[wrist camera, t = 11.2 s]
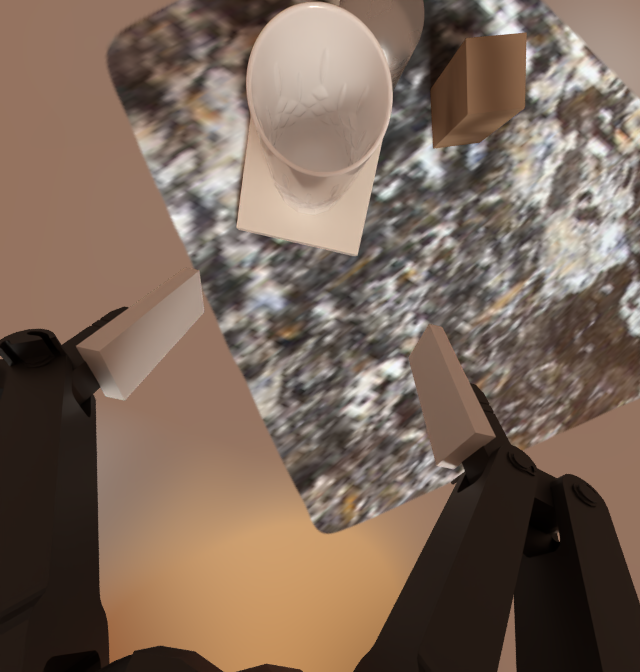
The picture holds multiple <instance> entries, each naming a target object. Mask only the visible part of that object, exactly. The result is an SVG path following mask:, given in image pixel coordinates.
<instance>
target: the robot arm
mask: <svg viewBox="0 0 640 672" xmlns="http://www.w3.org/2000/svg"><path fill="white" fill-rule="evenodd" d="M203 313H204V305H203V296H202V288H201V280H200V273H199V270H195V269H190V268H184V269H182V270H181V271H179V272H178V273H177V274H175V275H174V276H173V277H171V278H170V279H168V280H167V281H166V282H164V283H163V284H162V285H160V286H159V287H157V288H156V289H155V290H153V291H152V292H150V293H149V294H148V295H146V296H145V297H143V298H142V299H141V300H139V301H138V302H136V303H135V304H134V305H132V306H131V307H129V308H128V307H122V308H119V309H116V310H114V311H111V312H109V313H108V314H107V315H105V316H104V317H102V318H101V319H100V320H98V321H97V322H95V323H93V324H92V326H89V327H87V328H86V329H84V330H83V331H82V332H80V333H79V334H77V335H76V336H74V337H73V338H71V339H70V340H68V341H67V342H65V343H64V344H63V345H61V344H60V342H59V341H58V339H57V337H56V336H55V334H54V333H53V332H51V331H49V330H45V329H28V330H24V331H20V332H16V333H13V334H11V335H8V336H6V337H4V338H3V339H1V340H0V356H1V357H2V358H3V359H0V672H223V671H222V670H220V669H219V668H218V667H216V666H215V665H213V664H212V663H210V662H209V661H208V660H206V659H205V658H203V657H202V656H201V655H199V654H198V653H196V652H194V651H189V650H183V649H177V648H171V647H165V646H156V647H151V648H147V649H141V650H137V651H134V652H133V654H132V655H128V656H126V657H124V658H121V659H118V660H116V661H114V662H112V663H110V664H109V637H108V623H107V618H106V614H105V611H104V609H103V606H102V604H101V600H100V589H99V541H98V492H97V447H96V446H97V444H96V400H95V397H94V395H93V393H95V392H96V391H97V390H98V389H99V388H101V389H102V391H103V392H104V395H105V396H106V397H111V398H116V399H121V400H126V399H127V397H128V396H129V395H130V394H131V393H132V392H133V391H134V390H135V389H136V387H137V386H138V385H139V384H140V383H141V382H142V381H143V380H144V378H145V377H146V376H147V375H148V374H149V373H150V372H151V371H152V370H153V369H154V367H155V366H156V365H157V364H158V363H159V362H160V361H161V360H162V359H163V357H164V356H165V355H166V354H167V353H168V352H169V351H170V350H171V348H172V347H173V346H174V345H175V344H176V343H177V342H178V341H179V340H180V339H181V337H182V336H183V335H184V334H185V333H186V332H187V331H188V330H189V329H190V327H191V326H192V325H193V324H194V323H195V322H196V321H197V320H198V318H199V317H200V316H201V315H202V314H203ZM409 362H410V366H411V370H412V373H413V377H414V381H415V385H416V389H417V393H418V396H419V400H420V404H421V408H422V412H423V416H424V419H425V423H426V427H427V431H428V435H429V439H430V442H431V446H432V450H433V454H434V458H435V462H436V465H437V466H441V467H446V468H451V469H455V468H456V467H457V466H459V465H460V464H461V463H462V464H463V467H464V470H465V472H464V473H462V474H461V475H459V476H458V477H457V478H455V479H454V480H453V481H452V482H451V483H452V484H455V483H456V482H457V483H456V485H455V487H454V489H453V491H452V493H451V495H450V497H449V499H448V501H447V503H446V505H445V507H444V509H443V511H442V513H441V515H440V517H439V519H438V521H437V523H436V524H435V526H434V528H433V530H432V532H431V534H430V536H429V538H428V540H427V542H426V544H425V546H424V548H423V550H422V552H421V554H420V556H419V558H418V560H417V562H416V564H415V566H414V568H413V570H412V572H411V573H410V576H409V577H408V579H407V581H406V583H405V585H404V587H403V589H402V591H401V593H400V595H399V597H398V599H397V601H396V603H395V605H394V607H393V609H392V611H391V613H390V615H389V617H388V619H387V621H386V622H385V624H384V626H383V628H382V630H381V632H380V634H379V636H378V639H377V640H376V642H375V644H374V646H373V647H372V648H371V650H370V651H369V652H368V653H367V654H366V655H365V656H364V657H363V658H362V659H361V660H360V662H359V664H358V665H357V666H356V668H355V670H354V671H353V672H497V670H498V665H499V660H500V656H501V651H502V646H503V642H504V637H505V632H506V627H507V623H508V618H509V614H510V609H511V604H512V600H513V595H514V613H515V638H516V639H515V641H516V668H517V672H640V603H639V600H638V597H637V594H636V591H635V588H634V585H633V582H632V579H631V576H630V573H629V570H628V567H627V564H626V562H625V558H624V555H623V552H622V549H621V547H620V543H619V540H618V537H617V534H616V532H615V528H614V525H613V522H612V520H611V516H610V513H609V510H608V508H607V506H606V504H605V502H604V500H603V499H602V497H601V496H600V495H599V494H598V492H597V491H596V490H595V489H594V488H593V487H592V486H590V485H589V484H588V483H586V482H585V481H584V480H582V479H581V478H579V477H577V476H574V475H571V474H565V475H563V476H561V477H559V478H555V477H553V476H551V475H549V474H547V473H545V472H543V471H541V470H539V469H537V467H536V465H535V464H534V462H533V461H532V460H531V459H530V457H529V456H528V455H526V454H525V453H524V452H523V451H522V450H520V449H519V448H517V447H515V446H513V445H511V444H510V442H509V440H508V438H507V436H506V434H505V433H504V431H503V429H502V427H501V425H500V423H499V421H498V419H497V417H496V416H495V414H493V410H492V408H491V406H489V402H488V400H487V398H486V397H485V395H484V393H483V392H482V391H481V390H480V389H479V388H478V387H477V386H476V385H475V384H471V383H469V381H468V379H467V377H466V375H465V373H464V371H463V369H462V367H461V365H460V363H459V361H458V359H457V356H456V354H455V352H454V350H453V348H452V346H451V344H450V342H449V340H448V338H447V336H446V334H445V332H444V330H443V328H442V327H440V326H436V325H431V324H429V325H428V327H427V328H426V330H425V332H424V333H423V335H422V337H421V338H420V340H419V342H418V343H417V345H416V346H415V348H414V350H413V351H412V353H411V355H410V356H409ZM557 532H559V534H560V542H559V540H558V536H557ZM238 672H303V671H301V670H300V669H294V668H288V667H283V666H277V665H270V664H264V665H260V666H256V667H253V668H249V669H245V670H242V671H238Z"/></svg>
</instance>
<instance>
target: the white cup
mask: <svg viewBox="0 0 640 672" xmlns="http://www.w3.org/2000/svg"><path fill="white" fill-rule="evenodd" d="M246 91H247V100H248V105H249V110H250V113H251V117H252V120H253V123H254V126H255V129H256V132H257V135H258V138H259V141H260V145H261V148H262V151H263V154H264V157H265V160H266V163H267V166H268V168H269V172H270V174H271V177H272V179H273V181H274V184H275V187H276V189H277V190H278V192H279V194H280V196H281V197H282V199H283V201H284V203H286V204H287V205H289V206H290V207H291V208H293V209H294V210H295V211H297V212H298V213H304V214H310V215H316V214H319V213H322V212H325V211H328V210H329V209H330V208H331V207H332V206H333V205H334V204H335V203H336V202H337V201H338V200H339V199H340V198H341V197H342V196H343V195H344V193H345V192H346V191H347V190H348V188H349V187H350V186H351V184H352V183H353V182H354V180H355V179H356V177H357V176H358V174H359V173H360V172H361V170H362V169H363V167H364V166H365V164H366V163H367V161H368V160H369V158H370V157H371V156H372V154H373V153H374V151H375V150H376V149H377V147H378V146H379V144H380V142H381V141H382V139H383V137H384V134H385V132H386V130H387V127H388V124H389V120H390V116H391V110H392V100H393V90H392V80H391V74H390V70H389V66H388V63H387V60H386V57H385V54H384V52H383V50H382V48H381V46H380V44H379V42H378V41H377V39H376V38H375V36H374V35H373V33H372V32H371V31H370V29H369V28H368V27H367V26H366V25H365V24H364V23H363V22H362V21H361V20H360V19H359V18H357V17H356V16H355V15H353V14H352V13H350V12H349V11H347V10H345V9H343V8H341V7H339V6H336V5H333V4H330V3H325V2H304V3H300V4H296V5H293V6H291V7H289V8H287V9H285V10H283V11H281V12H280V13H278V14H277V15H276V16H275V17H273V18H272V19H271V20H270V21H269V22H268V23H267V25H266V26H265V27H264V28H263V30H262V31H261V33H260V34H259V36H258V38H257V39H256V41H255V44H254V46H253V48H252V51H251V54H250V58H249V62H248V67H247V76H246Z"/></svg>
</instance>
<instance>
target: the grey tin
mask: <svg viewBox="0 0 640 672" xmlns="http://www.w3.org/2000/svg"><path fill="white" fill-rule="evenodd" d="M339 7H341V8H343V9H345V10H347V11H349V12H350V13H352V14H353V15H355V16H356V17H357V18H359V19H360V20H361V21H362V22H363V23H364V24H365V25H366V26H367V27H368V28H369V29H370V31H371V32H372V33H373V35H374V36H375V38H376V39H377V41H378V42H379V44H380V46H381V48H382V50H383V52H384V54H385V57H386V60H387V63H388V66H389V70H390V74H391V80H392V90H393V91H394V89H395V87H396V85H397V83H398V81H399V79H400V77H401V75H402V73H403V71H404V69H405V67H406V65H407V63H408V61H409V59H410V57H411V55H412V53H413V51H414V49H415V47H416V45H417V43H418V41H419V39H420V36H421V33H422V29H423V24H424V3H423V0H340V6H339Z"/></svg>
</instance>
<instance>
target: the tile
mask: <svg viewBox="0 0 640 672" xmlns="http://www.w3.org/2000/svg"><path fill="white" fill-rule="evenodd" d="M382 140H383V139H382ZM381 144H382V141H381V142H380V144H379V146H378V147H377V149H376V150H375V151H374V153H373V154H372V156H371V157H370V158H369V160H368V161H367V163H366V164H365V166H364V167H363V169H362V170H361V172H360V173H359V174H358V176H357V177H356V179H355V180H354V182H353V183H352V184H351V186H350V187H349V188H348V190H347V191H346V192H345V193H344V195H343V196H342V197H341V198H340V199H339V200H338V201H337V202H336V203H335V204H334V205H333V206H332V207H331V208H330V209H329V210H328V211H325V212H322V213H319V214H316V215H310V214H304V213H298V212H297V211H295V210H294V209H293V208H291V207H290V206H289V205H287V204H286V203H284V201H283V199H282V197H281V196H280V194H279V192H278V190H277V189H276V187H275V184H274V181H273V179H272V177H271V174H270V172H269V168H268V166H267V163H266V160H265V157H264V154H263V151H262V148H261V145H260V141H259V138H258V135H257V132H256V129H255V126H254V123H253V120H252V117H251V119H250V127H249V134H248V142H247V150H246V158H245V165H244V173H243V181H242V189H241V197H240V204H239V212H238V220H237V228H238V229H239V230H242V231H246V232H251V233H255V234H259V235H264V236H268V237H273V238H277V239H281V240H286V241H290V242H294V243H299V244H303V245H307V246H312V247H316V248H321V249H325V250H329V251H334V252H338V253H342V254H347V255H351V256H357V255H358V250H359V245H360V241H361V236H362V232H363V227H364V222H365V218H366V213H367V209H368V204H369V200H370V195H371V190H372V186H373V181H374V177H375V172H376V167H377V163H378V158H379V154H380V149H381Z"/></svg>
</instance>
